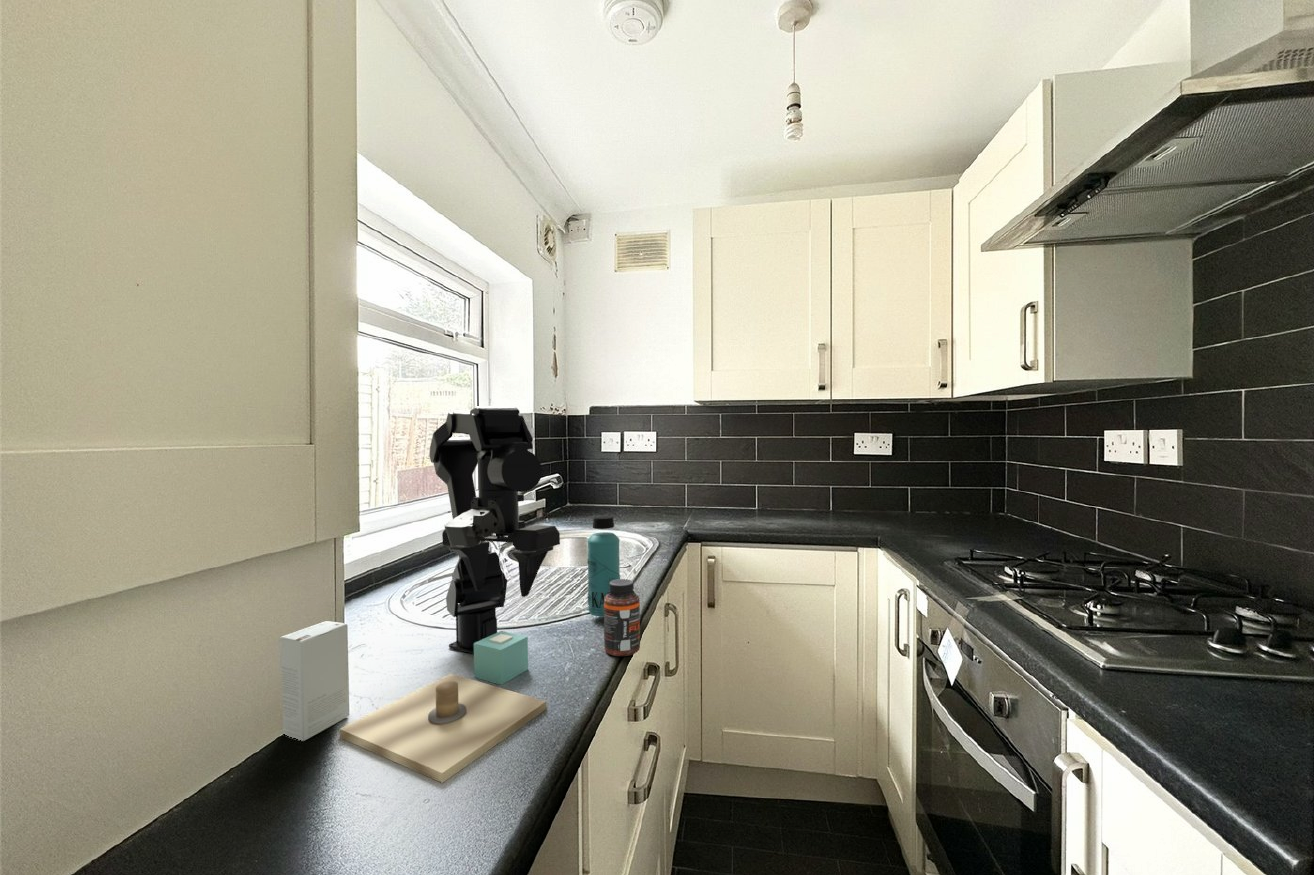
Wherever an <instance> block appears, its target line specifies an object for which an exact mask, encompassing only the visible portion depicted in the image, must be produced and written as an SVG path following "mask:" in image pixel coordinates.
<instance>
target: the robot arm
mask: <svg viewBox="0 0 1314 875" xmlns="http://www.w3.org/2000/svg"><path fill="white" fill-rule="evenodd" d="M525 420H526V419H525V418H524V416H523V415H522V414H520V410H519V409H518V408H517V407H515V406H482V405H481V406H475V407H473V408H471V409H470V410H465V411H464V410H452V411H450V412H448V414H447V416H446V421H445V422H444V423H442V425H441V426H439V427H438V428H437V429H436V430H434V432H433V434H432V438H431V440H430V441H431V442H430V447H429V459H430V462H431V463H433V467H434V471H435V474H436V476H437V477H438V478H439V479H440V480H441V481H443V483H445V484H446V486H447V492H448V497H449V504H450V505H449V506H450V510H451V517H452V519H451V520H450V521H448V522H446V523H445V524H444V525H443V526H444V530H443V532H442V546H449V547H448V550H449V551H452V552H454V553H455V554H456V555H457V556H458V561H457V562H456V566H455V567H454V569H453V571H452V572H453V573H452V574H451V578H452V579H451V580H450V584H449V587H448V591H447V594H446V597H445V601H446V602H445V603H446V610H447V612H448V613H449V614H450V615H451V616H452V617H453V618H455V632H456V633H455V635H456V640H455V641H453V642H451V643H449V644H448V648H449V649H452V650H456V651H460V652H464V653H468V654H472V655H474V643H476V642H478V641H480V640H482V639H484V638H487V637H489V636H491V635H493V634H495V633H498V618H497V615H496V614H497V613H496V609H497V608H504V606H505V603H506V596H507V594H506V593H507V588H508V586H507V585H508V579H507V578H506V575H505V574H506V573H505V572H503V571H502V567H501V562H500V560H501V559H500V556H499V554H498V553H497V552H496V551H494V552H491V551H490V543H491V542H499V543H512V546H513V547H514V549H515V550H516V551H513V552H511V555H513V557H514V558H515V560H517V563H518V575H519V580H518V581H519V589H520V596H521V597H522V598H524V597H528V596H529V594H530V591H531V590H532V587H533V585H534V582H535V581H536V577H537V575H538V573H539V570H540V568H541V565H542V564H543V562H544V561H545V558H546V556H547V554H548V552H551V551H553V550H554V547H555V546H559V545H560V544H561V537H560V535H561V533H560V531H559V529H558V528H557V527H556V526H555V525H544V524H543V525H541V524H540V525H539V524H536V525H532V526H528V527H527V526H526V525H525V524H526V523H525V520H520V511H519V502H525V494H524V493H525V492H529V491H531V490H532V489H534V488H535V487H537V485H538V484H539V483H540V481H541V479H542V476H543V475H542V474H543V466H542V464H541V462H540V459H539V458H538V457H537V456H536V454H534V453H533V452H531V451H529V450H533V449H534V448H533V446H534V445H533V440H534V438H533V436H532V434H531V432H530V430H529V427H528V425H527V424H526V421H525ZM454 434H464V435H469V437H453V435H454ZM476 468H477V482H478V496H477V494H476V489H475V483H474V478H473V477H474V476H473V474H474V472H475V471H476ZM519 493H520V494H519ZM521 493H523V494H521ZM493 534H494V535H493Z"/></svg>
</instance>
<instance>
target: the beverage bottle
mask: <svg viewBox="0 0 1314 875" xmlns="http://www.w3.org/2000/svg"><path fill="white" fill-rule="evenodd" d="M592 528H593V529H594V530H596V529H597V530H606V529H607V530H608V529H612V528H615V522H614V517H613V516H610V515H600V516H594V517H593V518H592ZM620 540H621V539H620V538H619V537H618V535H616V533H614V532H607V531H603V532H602V531H601V532H594V533H592V534H591V535H590V536H589V537H588V538H587V541H586V542H587V556H586V557H587V584H586V585H587V586H588V588H587V609H588V612H589V614H590V615H591V616H594V617H603V618H604V598H605V596H606V595H607V594H609V593H610V590H609V583H610V582H611V581H613V580H618V579H621V574H620V573H621V572H620V568H621V567H620V566H621V565H620V564H621V563H620Z"/></svg>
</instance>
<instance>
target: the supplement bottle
mask: <svg viewBox="0 0 1314 875" xmlns="http://www.w3.org/2000/svg"><path fill="white" fill-rule="evenodd" d="M634 587H635V586H634V580H632V579H625V578H620V579H618V580H613V581H611V582H610V583H609V590H610V593H609V594H607V595H606V596H605V598H604V616H603V638H604V640H603V641H604V642H603V644H604V651H605V652H606V653H607V654H608V655H611V656H613V657H629V656H632V655H635V654H636V653H637V652H638V651H640V649H641V620H640V619H641V616H640V615H641V612H640V608H641V607H640V606H641V605H640V596H639V594H637V593H636V592H635V591H634V590H635V589H634Z"/></svg>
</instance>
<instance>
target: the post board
mask: <svg viewBox="0 0 1314 875" xmlns="http://www.w3.org/2000/svg"><path fill="white" fill-rule="evenodd" d="M546 710H547V701H546V700H543V699H540V698H537V697H536V698H535V697H534V696H530V695H527V694H524V693H523V694H522V693H520V692H515V691H512V690H509V689H506V688H502V687H499V686H496V685H492V684H488V683H485V682H481V681H478V680H475V679H471V678H467V677H464V676H462V675H457V674H454V673H449V674H448V675H445V676H442V677H441V678H439V679H438V680H435V681H433V682H431V683H430V684H427V685H425V686H423V687H421V688H419V689H417V690H415V691H413V692H411V693H409V694H407V695H405V696H403V697H401V698H399V699H397V700H394V701H393V702H391V703H389V704H386V705H385V706H382V707H381V708H379V709H377V710H375V711H373V712H371V713H369V714H367V715H365V716H362V717H360V718H359V719H357V720H355V721H353V722H351V723H349V724H346V725H344V726H343V727H341V728H340V727H339V738H340V739H343V740H345V741H348V742H349V743H351V744H354V745H356V746H358V747H361V748H363V749H365V750H367V751H370V752H372V753H374V754H376V755H379V756H381V757H384V758H385V759H388V760H390V761H392V762H395V763H397V764H399V765H401V766H403V767H406V768H408V769H410V770H411V771H415V772H417V773H419V774H421V775H423V776H426V777H429V778H430V779H433V780H435V781H438V782H439V783H442V784H443V783H444V782H446V781H447V780H449V779H450V778H451V777H453V776H454V775H456V774H457V773H458V772H460V771H461V770H463V769H465V768H466V767H467V766H469V765H470V764H471V763H473V762H474V761H475V760H477V759H478V758H480V757H481V756H482V755H484V754H485V753H487V752H488V751H489V750H491V749H492V748H493V747H495V746H496V745H498V744H499V743H501V742H502V741H504V740H505V739H506V738H508V737H509V736H510V735H513V733H515V732H516V731H517V730H519V729H521V728H523V727H524V726H525V725H526V724H527V723H529V722H530V721H532V720H533V719H535V718H536V717H538V716H539V715H541V713H543V712H544V711H546Z"/></svg>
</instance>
